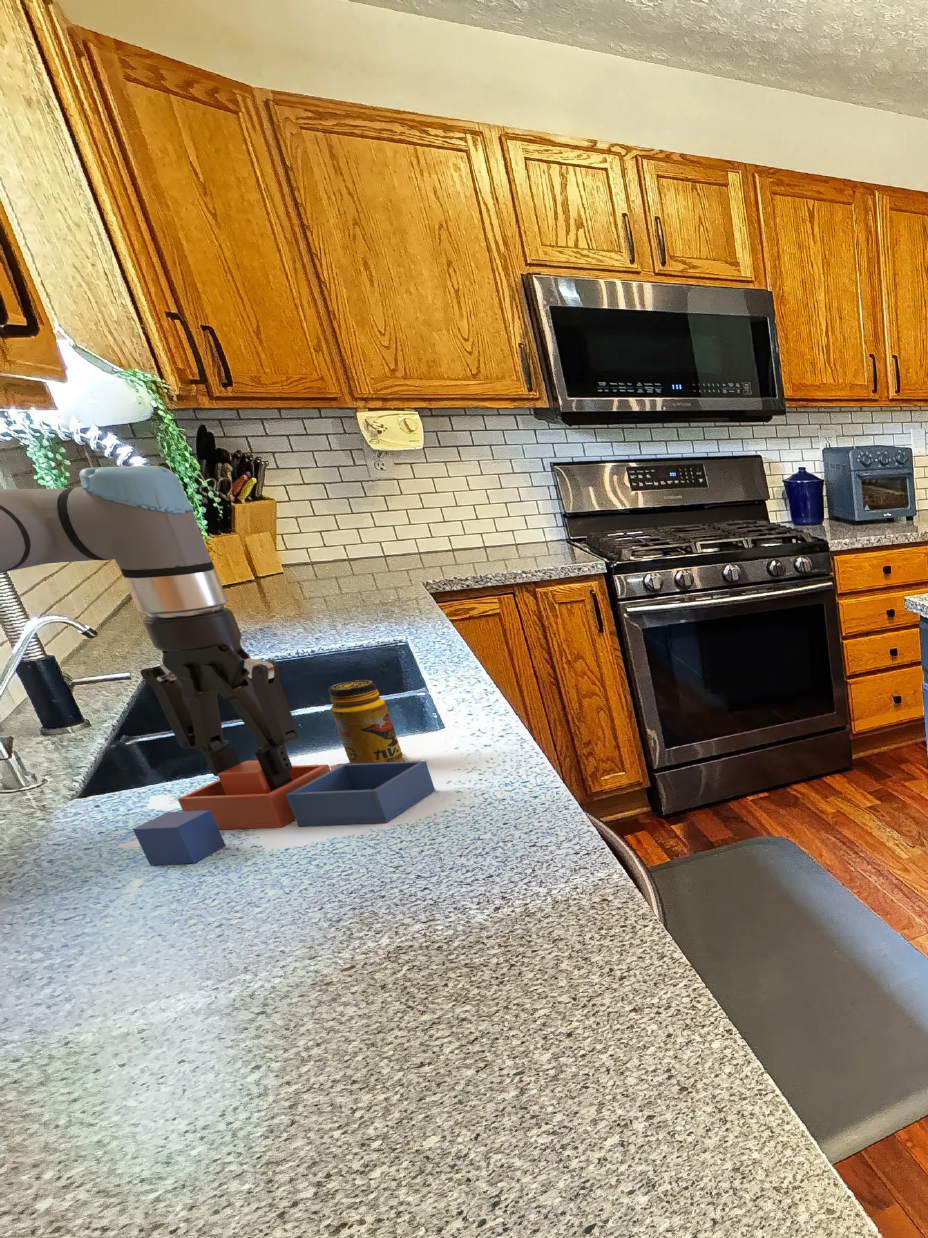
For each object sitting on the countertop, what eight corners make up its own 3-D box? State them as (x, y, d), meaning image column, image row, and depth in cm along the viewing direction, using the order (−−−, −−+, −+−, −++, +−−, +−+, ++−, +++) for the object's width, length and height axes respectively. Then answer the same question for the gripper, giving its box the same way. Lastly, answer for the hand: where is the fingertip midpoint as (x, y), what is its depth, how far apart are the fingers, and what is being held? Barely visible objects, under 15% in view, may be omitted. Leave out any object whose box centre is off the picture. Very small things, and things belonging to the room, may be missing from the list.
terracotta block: (231, 808, 105) (216, 774, 103) (259, 793, 109) (246, 760, 108) (270, 806, 106) (256, 772, 104) (297, 792, 110) (284, 759, 108)
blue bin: (298, 826, 104) (285, 794, 102) (354, 793, 113) (343, 763, 112) (387, 822, 105) (375, 791, 103) (435, 790, 114) (425, 760, 112)
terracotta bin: (191, 831, 103) (177, 798, 101) (256, 797, 112) (244, 767, 111) (282, 827, 104) (269, 795, 102) (339, 793, 113) (328, 764, 111)
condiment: (412, 766, 122) (385, 684, 118) (337, 782, 117) (306, 697, 112) (402, 753, 127) (376, 674, 122) (330, 768, 122) (299, 686, 117)
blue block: (149, 865, 95) (132, 828, 93) (184, 847, 99) (168, 811, 97) (193, 863, 95) (176, 827, 93) (226, 845, 99) (210, 810, 98)
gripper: (292, 602, 102) (358, 783, 111) (133, 606, 101) (213, 789, 110) (242, 615, 95) (317, 806, 105) (71, 619, 94) (162, 813, 103)
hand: (264, 797), depth 107 cm, fingers closed on terracotta block, 4 cm apart
